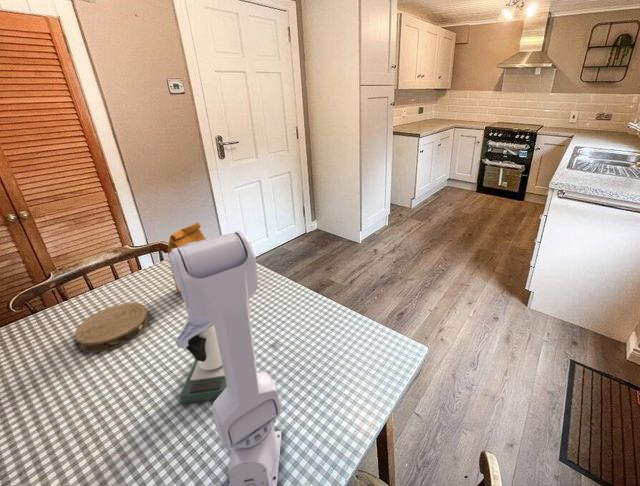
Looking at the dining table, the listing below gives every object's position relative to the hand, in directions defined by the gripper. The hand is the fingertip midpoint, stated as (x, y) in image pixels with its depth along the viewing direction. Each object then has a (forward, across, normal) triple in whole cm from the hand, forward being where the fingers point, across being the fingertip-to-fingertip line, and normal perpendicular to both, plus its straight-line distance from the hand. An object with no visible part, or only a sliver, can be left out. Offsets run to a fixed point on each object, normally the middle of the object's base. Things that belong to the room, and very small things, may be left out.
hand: (211, 347), depth 71 cm
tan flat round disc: (+7, -6, -37) cm, 38 cm away
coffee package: (+7, -29, -29) cm, 41 cm away
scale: (+7, +1, 0) cm, 7 cm away
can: (+4, 0, 0) cm, 4 cm away
